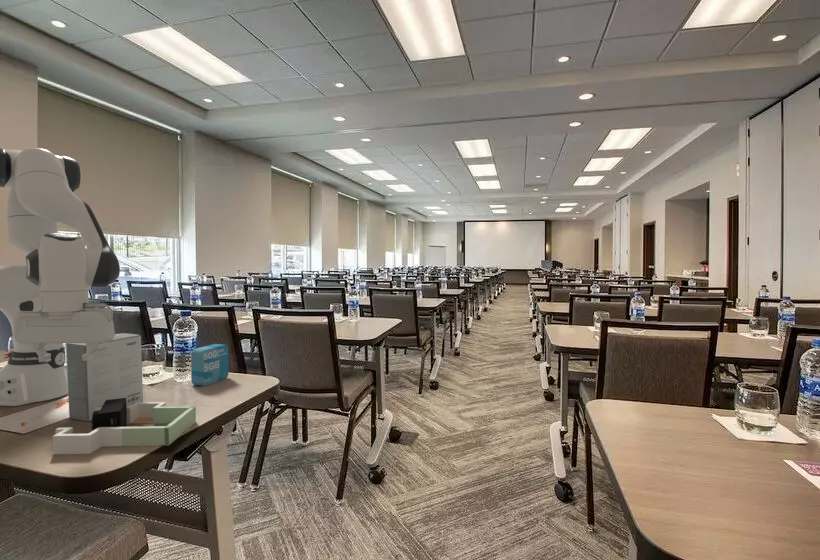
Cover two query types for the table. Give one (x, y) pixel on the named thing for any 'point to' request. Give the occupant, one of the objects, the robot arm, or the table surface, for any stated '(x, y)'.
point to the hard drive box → (104, 374)
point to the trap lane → (130, 429)
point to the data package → (209, 364)
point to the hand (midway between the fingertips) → (66, 361)
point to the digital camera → (111, 414)
